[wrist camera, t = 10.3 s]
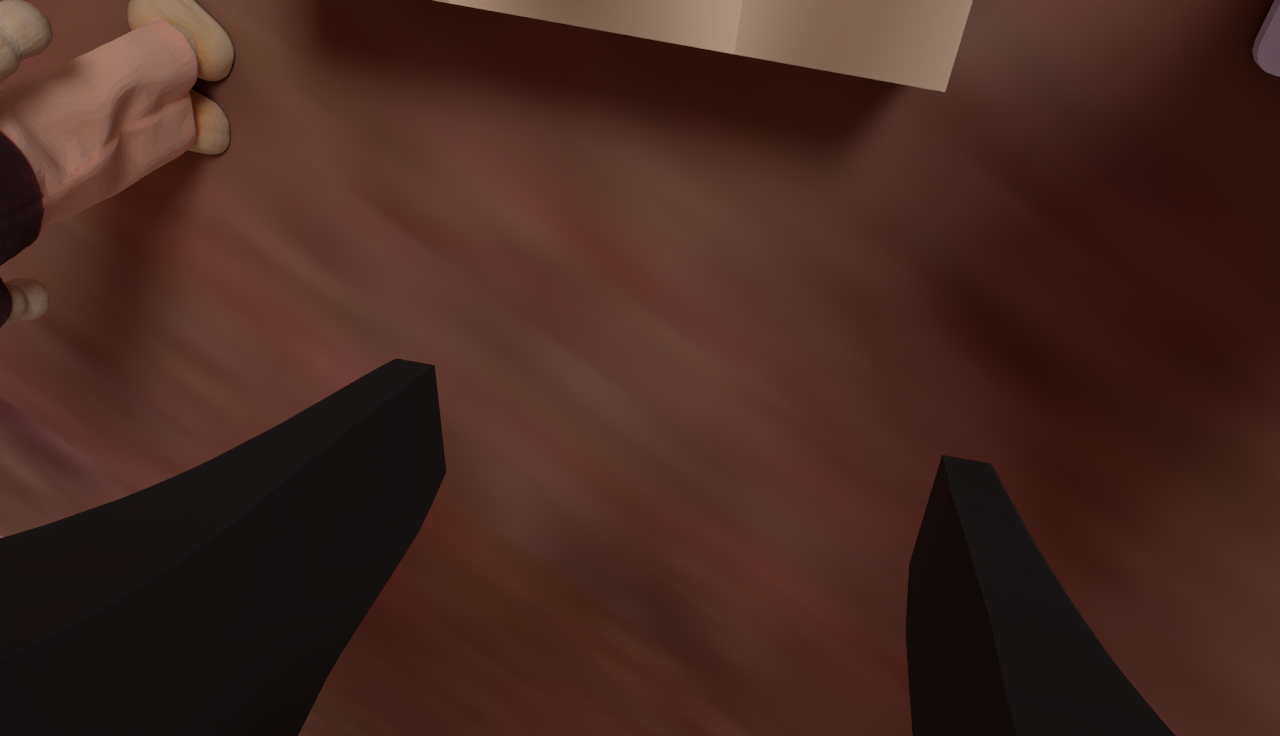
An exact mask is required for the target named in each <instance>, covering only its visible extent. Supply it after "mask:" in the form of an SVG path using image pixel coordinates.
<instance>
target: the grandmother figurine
mask: <svg viewBox="0 0 1280 736" xmlns="http://www.w3.org/2000/svg"><path fill="white" fill-rule="evenodd" d="M128 21H129V25H130V28H131V32H129V33H127V34H125V35H123V36H121V37H119V38H117V39H115V40H113V41H111V42H109V43H106V44H104V45H102V46H100V47H98V48H96V49H94V50H92V51H90V52H88V53H86V54H83V55H81V56H79V57H76V58H74V59H72V60H69V61H67V62H64V63H62V64H59V65H57V66H54V67H51V68H49V69H46V70H43V71H41V72H38V73H36V74H34V75H31V76H29V77H26V78H23V79H20V80H18V81H16V82H14V83H12V84H10V85H8V86H7V87H5V88H3V89H2V90H0V266H1V265H2V264H4V263H5V262H7V261H8V260H9V259H11V258H13V257H14V256H16V255H17V254H18V253H20V252H21V251H22V250H23V249H25V248H26V247H28V246H30V245H31V244H32V243H33V242H34V241H35V240H36V239H37V238H38V235H39V233H40V232H41V230H42V229H43V227H45V226H48V225H50V224H52V223H55V222H57V221H60V220H62V219H65V218H67V217H70V216H72V215H75V214H77V213H80V212H82V211H84V210H86V209H87V208H89V207H91V206H93V205H95V204H97V203H99V202H101V201H103V200H106V199H108V198H110V197H112V196H114V195H116V194H118V193H119V192H121V191H123V190H124V189H126V188H128V187H129V186H131V185H132V184H134V183H136V182H137V181H139V180H140V179H142V178H143V177H144V176H146V175H148V174H149V173H151V172H153V171H154V170H156V169H158V168H160V167H161V166H163V165H165V164H167V163H168V162H170V161H172V160H174V159H176V158H177V157H179V156H180V155H182V154H183V153H184V152H186V151H187V150H190V151H194V152H198V153H203V154H214V155H215V154H220V153H222V152H223V151H225V150H226V149H227V147H228V145H229V142H230V140H229V139H230V127H229V122H228V120H227V117H226V115H225V114H224V112H223V111H222V110H221V108H220V107H219V106H218V105H217V104H216V103H215V102H213V101H212V100H210V99H208V98H207V97H205V96H203V95H202V94H200V93H198V92H196V91H195V90H193V89H191V88H192V87H193V86H194V84H195V83H196V80H197V77H198V78H201V79H203V80H207V81H218V80H221V79H223V78H225V77H226V76H227V75H228V74H229V72H230V70H231V67H232V64H233V60H234V48H233V45H232V42H231V40H230V38H229V36H228V35H227V33H226V32H225V31H224V30H223V29H222V27H221V26H220V25H219V24H218V23H217V22H216V21H215V20H214V19H213V18H212V17H211V16H209V15H208V14H207V13H206V12H205V11H204V10H203V9H202V8H201V7H200V6H199V5H198V4H197V3H196V2H195V1H194V0H130V3H129V6H128ZM52 36H53V34H52V28H51V25H50V22H49V20H48V18H47V17H46V16H45V15H44V14H43V13H42V12H41V10H40V9H38V8H37V7H35V6H34V5H33V4H31V3H28V2H26V1H22V0H5V1H2V2H0V83H2V82H3V81H4V80H6V79H7V78H8V77H9V76H11V75H12V74H13V73H15V72H16V70H17V69H18V67H19V65H20V62H21V61H22V60H23V59H26V58H30V57H33V56H36V55H38V54H40V53H42V52H43V51H44V50H45V49H46V48H47V47H48V46H49V45H50V43H51V40H52ZM49 303H50V296H49V293H48V291H47V289H46V287H45V286H44V285H43V284H41V283H40V282H38V281H37V280H34V279H31V278H18V279H14V280H10V281H7V282H3V281H2V279H1V278H0V328H1V327H3V326H8V325H12V324H14V323H16V322H17V321H19V320H21V321H27V320H33V319H37V318H39V317H40V316H42V315H43V314H44V313H45V312H46V310H47V309H48V307H49Z"/></svg>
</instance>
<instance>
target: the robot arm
mask: <svg viewBox="0 0 1280 736" xmlns="http://www.w3.org/2000/svg"><path fill="white" fill-rule="evenodd" d="M1252 52H1253V57H1254V60H1255V62H1256V63H1257V64H1258V65H1259V66H1260V67H1261V68H1262V69H1263V70H1264V71H1265V72H1267V73H1269V74H1272V75H1275V76H1280V0H1274V2H1273V4H1272V7H1271V9H1270V11H1269V13H1268V15H1267V17H1266V19H1265V21H1264V23H1263V25H1262V27H1261V29H1260V31H1259V33H1258V35H1257V37H1256V39H1255V42H1254V46H1253V49H1252ZM445 474H446V465H445V456H444V447H443V438H442V428H441V419H440V410H439V401H438V392H437V382H436V373H435V365H430V364H424V363H419V362H413V361H407V360H402V359H394V360H392V361H390V362H388V363H386V364H385V365H383V366H381V367H379V368H377V369H375V370H373V371H372V372H370V373H368V374H366V375H365V376H363V377H361V378H359V379H358V380H356V381H354V382H352V383H351V384H349V385H347V386H346V387H344V388H342V389H340V390H339V391H337V392H335V393H333V394H332V395H330V396H328V397H327V398H325V399H323V400H321V401H320V402H318V403H316V404H314V405H313V406H311V407H309V408H307V409H306V410H304V411H302V412H300V413H299V414H297V415H295V416H293V417H291V418H290V419H288V420H286V421H284V422H283V423H281V424H279V425H277V426H275V427H274V428H272V429H270V430H268V431H266V432H264V433H262V434H260V435H258V436H256V437H254V438H252V439H250V440H248V441H247V442H245V443H243V444H241V445H239V446H237V447H235V448H233V449H231V450H229V451H227V452H225V453H223V454H221V455H219V456H217V457H216V458H214V459H212V460H210V461H207V462H205V463H203V464H201V465H199V466H197V467H195V468H192V469H190V470H188V471H186V472H184V473H181V474H179V475H177V476H175V477H172V478H170V479H168V480H165V481H163V482H160V483H158V484H156V485H153V486H151V487H149V488H146V489H144V490H141V491H139V492H136V493H134V494H131V495H129V496H126V497H124V498H121V499H118V500H115V501H113V502H110V503H107V504H104V505H101V506H98V507H96V508H93V509H90V510H87V511H84V512H81V513H78V514H76V515H73V516H70V517H67V518H64V519H61V520H59V521H56V522H53V523H50V524H47V525H44V526H41V527H37V528H34V529H31V530H27V531H24V532H21V533H17V534H14V535H11V536H7V537H4V538H0V736H298V734H299V732H300V730H301V728H302V726H303V724H304V722H305V720H306V718H307V716H308V714H309V712H310V710H311V708H312V706H313V704H314V702H315V700H316V698H317V696H318V695H319V693H320V691H321V689H322V687H323V685H324V683H325V681H326V679H327V677H328V675H329V673H330V672H331V670H332V668H333V667H334V665H335V663H336V661H337V660H338V658H339V656H340V655H341V653H342V651H343V649H344V648H345V646H346V645H347V643H348V642H349V640H350V639H351V637H352V636H353V634H354V632H355V631H356V629H357V628H358V626H359V625H360V623H361V622H362V620H363V618H364V617H365V615H366V614H367V612H368V611H369V609H370V608H371V606H372V604H373V603H374V601H375V600H376V598H377V597H378V595H379V594H380V592H381V590H382V589H383V587H384V586H385V584H386V583H387V581H388V580H389V578H390V576H391V575H392V573H393V572H394V570H395V569H396V567H397V565H398V564H399V562H400V561H401V559H402V558H403V556H404V554H405V553H406V551H407V550H408V548H409V546H410V545H411V543H412V542H413V540H414V538H415V537H416V535H417V533H418V532H419V530H420V528H421V526H422V524H423V522H424V520H425V518H426V516H427V514H428V512H429V509H430V507H431V505H432V503H433V501H434V499H435V496H436V494H437V492H438V490H439V487H440V485H441V483H442V480H443V478H444V476H445ZM906 645H907V661H908V675H909V690H910V704H911V718H912V732H913V736H1175V735H1174V734H1173V732H1172V731H1171V730H1170V729H1169V728H1168V727H1167V726H1166V725H1165V723H1164V722H1163V721H1162V720H1161V719H1160V718H1159V717H1158V715H1157V714H1156V713H1155V712H1154V711H1153V709H1152V708H1151V707H1150V706H1149V705H1148V703H1147V702H1146V701H1145V700H1144V699H1143V697H1142V696H1141V695H1140V694H1139V693H1138V691H1137V690H1136V689H1135V688H1134V687H1133V685H1132V684H1131V683H1130V682H1129V680H1128V679H1127V678H1126V677H1125V675H1124V674H1123V673H1122V672H1121V670H1120V669H1119V668H1118V666H1117V665H1116V664H1115V662H1114V661H1113V660H1112V658H1111V657H1110V656H1109V654H1108V653H1107V652H1106V650H1105V649H1104V647H1103V646H1102V645H1101V643H1100V642H1099V640H1098V639H1097V638H1096V636H1095V635H1094V633H1093V632H1092V631H1091V629H1090V628H1089V626H1088V625H1087V624H1086V622H1085V621H1084V619H1083V618H1082V616H1081V615H1080V613H1079V612H1078V610H1077V609H1076V607H1075V606H1074V604H1073V603H1072V601H1071V600H1070V598H1069V597H1068V595H1067V594H1066V592H1065V591H1064V589H1063V587H1062V586H1061V584H1060V583H1059V581H1058V580H1057V578H1056V576H1055V575H1054V573H1053V572H1052V570H1051V568H1050V567H1049V565H1048V564H1047V562H1046V560H1045V559H1044V557H1043V556H1042V554H1041V552H1040V551H1039V549H1038V547H1037V545H1036V544H1035V542H1034V540H1033V539H1032V537H1031V535H1030V533H1029V532H1028V530H1027V528H1026V526H1025V525H1024V523H1023V521H1022V519H1021V518H1020V516H1019V514H1018V512H1017V510H1016V508H1015V507H1014V505H1013V503H1012V501H1011V499H1010V497H1009V495H1008V494H1007V492H1006V490H1005V488H1004V486H1003V484H1002V482H1001V480H1000V478H999V476H998V475H997V473H996V471H995V470H994V468H993V467H992V466H991V464H989V463H983V462H978V461H972V460H966V459H961V458H955V457H949V456H944V455H942V458H941V461H940V464H939V468H938V471H937V474H936V478H935V481H934V484H933V487H932V491H931V494H930V497H929V501H928V504H927V507H926V511H925V514H924V517H923V521H922V524H921V527H920V531H919V534H918V537H917V541H916V544H915V547H914V550H913V554H912V557H911V560H910V564H909V580H908V596H907V615H906Z"/></svg>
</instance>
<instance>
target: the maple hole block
mask: <svg viewBox="0 0 1280 736" xmlns="http://www.w3.org/2000/svg"><path fill="white" fill-rule="evenodd" d="M434 1H439V2H445V3H450V4H456V5H462V6H467V7H473V8H478V9H484V10H490V11H495V12H501V13H506V14H512V15H517V16H523V17H529V18H534V19H540V20H545V21H551V22H557V23H562V24H568V25H573V26H579V27H584V28H590V29H596V30H601V31H607V32H612V33H618V34H624V35H629V36H635V37H640V38H646V39H651V40H657V41H663V42H668V43H674V44H679V45H685V46H691V47H696V48H702V49H707V50H713V51H718V52H724V53H730V54H735V55H741V56H746V57H752V58H758V59H763V60H769V61H774V62H780V63H785V64H791V65H797V66H802V67H808V68H813V69H819V70H825V71H830V72H836V73H841V74H847V75H852V76H858V77H864V78H869V79H875V80H880V81H886V82H892V83H897V84H903V85H908V86H914V87H919V88H925V89H931V90H936V91H942V92H945V91H946V88H947V84H948V81H949V78H950V74H951V71H952V68H953V64H954V61H955V58H956V55H957V51H958V48H959V45H960V41H961V38H962V35H963V31H964V28H965V25H966V22H967V18H968V15H969V12H970V8H971V5H972V2H973V0H434Z"/></svg>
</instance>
